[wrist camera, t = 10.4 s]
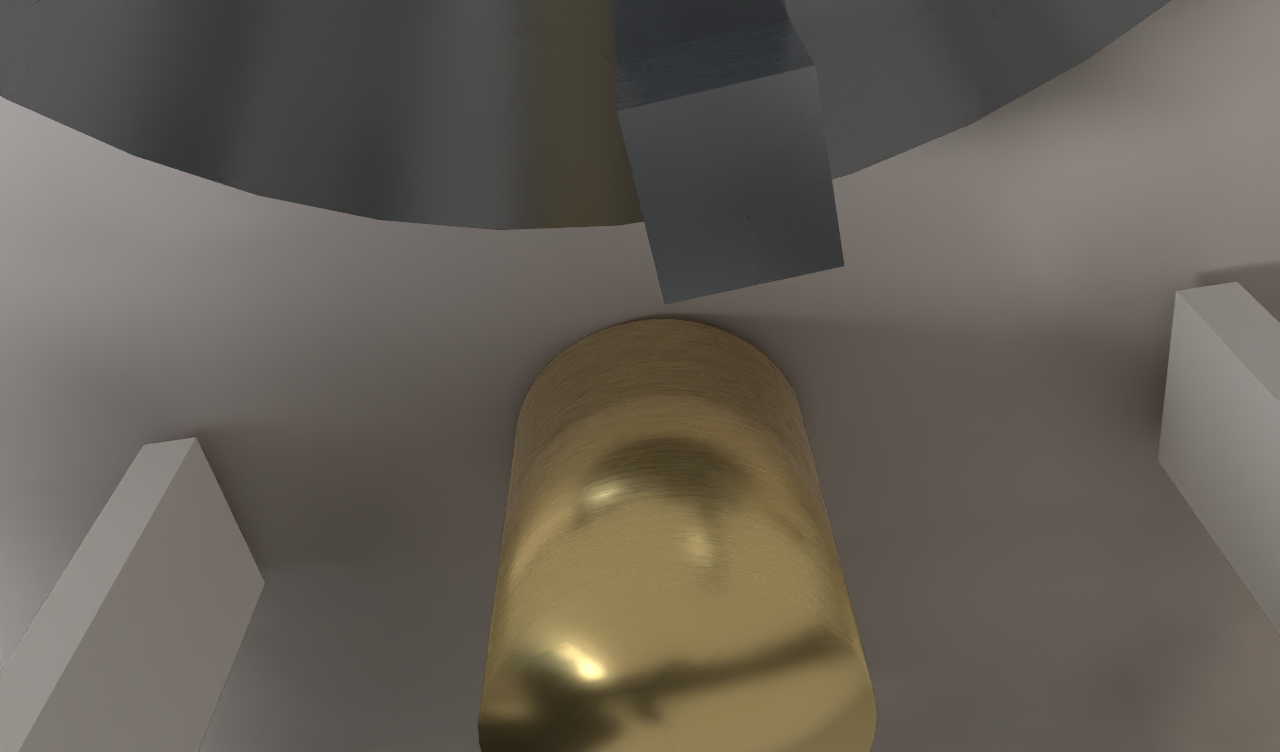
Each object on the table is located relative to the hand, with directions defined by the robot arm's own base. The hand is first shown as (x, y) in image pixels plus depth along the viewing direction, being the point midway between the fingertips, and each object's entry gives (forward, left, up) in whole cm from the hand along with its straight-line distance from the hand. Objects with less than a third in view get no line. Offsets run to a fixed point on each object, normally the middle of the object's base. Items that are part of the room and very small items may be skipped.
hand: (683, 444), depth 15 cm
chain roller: (0, 0, 0) cm, 0 cm away
